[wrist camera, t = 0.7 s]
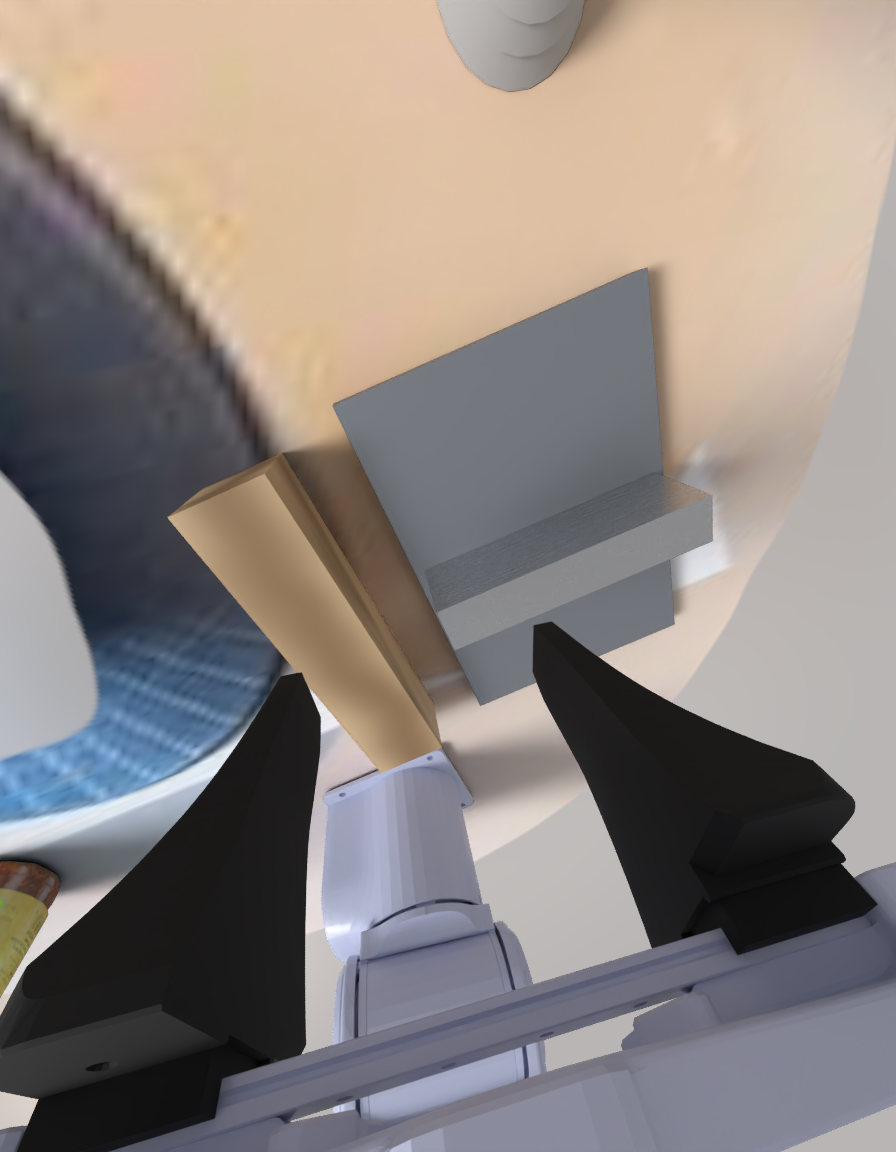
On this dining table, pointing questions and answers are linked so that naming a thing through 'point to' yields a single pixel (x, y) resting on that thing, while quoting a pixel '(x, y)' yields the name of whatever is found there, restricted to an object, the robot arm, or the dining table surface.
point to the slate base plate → (522, 458)
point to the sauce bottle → (22, 911)
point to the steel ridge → (568, 556)
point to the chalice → (511, 37)
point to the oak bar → (311, 607)
